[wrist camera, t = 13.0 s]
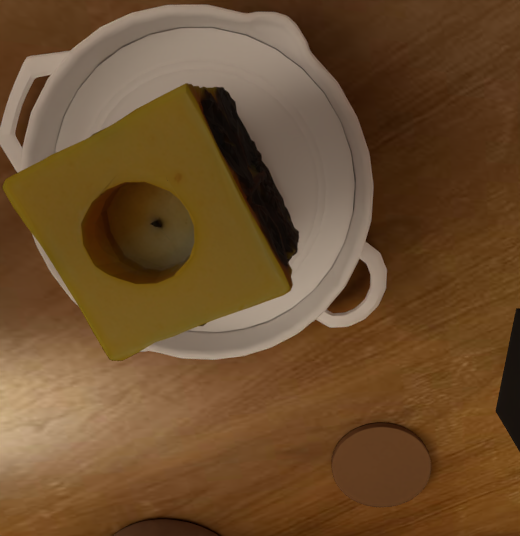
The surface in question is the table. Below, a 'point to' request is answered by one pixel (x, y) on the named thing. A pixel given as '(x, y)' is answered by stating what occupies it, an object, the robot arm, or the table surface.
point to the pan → (259, 129)
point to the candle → (161, 220)
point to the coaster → (381, 465)
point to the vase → (164, 529)
